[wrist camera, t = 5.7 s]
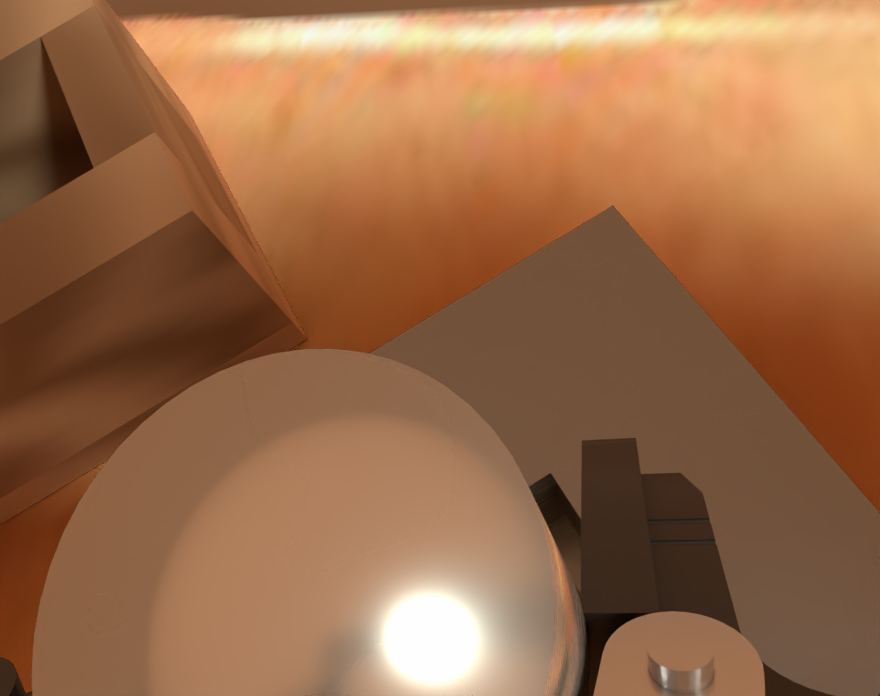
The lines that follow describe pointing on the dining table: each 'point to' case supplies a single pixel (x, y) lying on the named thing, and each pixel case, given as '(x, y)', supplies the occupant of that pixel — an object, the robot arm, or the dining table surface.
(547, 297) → the socket block
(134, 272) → the vial rack
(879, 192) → the dining table surface
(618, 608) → the robot arm
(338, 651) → the gold clear cylinder
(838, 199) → the dining table surface
